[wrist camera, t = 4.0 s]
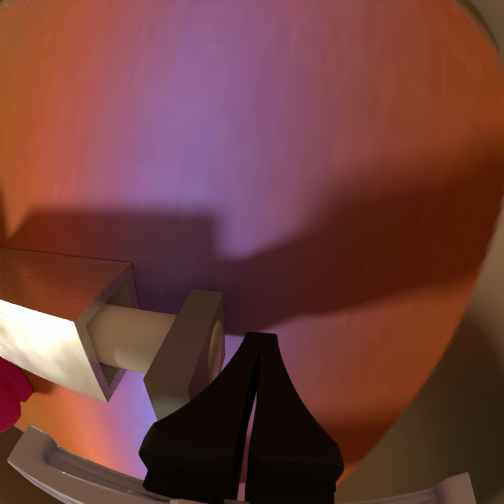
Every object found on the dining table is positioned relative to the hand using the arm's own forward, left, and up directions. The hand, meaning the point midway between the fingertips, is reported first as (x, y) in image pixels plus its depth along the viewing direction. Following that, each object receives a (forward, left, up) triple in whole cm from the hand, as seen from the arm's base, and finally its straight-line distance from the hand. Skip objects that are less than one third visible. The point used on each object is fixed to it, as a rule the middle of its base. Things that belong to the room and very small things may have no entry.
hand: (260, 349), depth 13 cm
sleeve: (0, +13, -2) cm, 13 cm away
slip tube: (0, +13, -1) cm, 13 cm away
